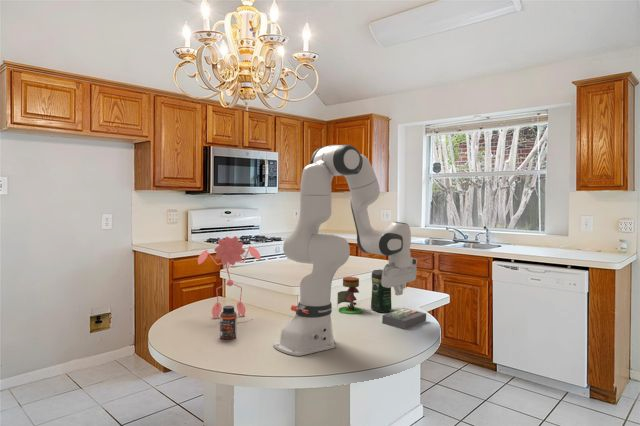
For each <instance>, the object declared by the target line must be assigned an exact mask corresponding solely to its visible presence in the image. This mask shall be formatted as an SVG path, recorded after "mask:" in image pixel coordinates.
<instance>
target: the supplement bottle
mask: <svg viewBox="0 0 640 426" xmlns="http://www.w3.org/2000/svg"><path fill="white" fill-rule="evenodd" d="M237 315H238V313H237V312H236V311H235V306H234V305H224V306H222V312H220V314H219V316H220V317H219V319H220V321H219V323H220V324H219V337H220V338H221V339H223V340H232V339H235V338H236V337H237V324H238V322H237V321H238V320H237V319H238V318H237V317H238V316H237Z"/></svg>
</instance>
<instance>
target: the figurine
mask: <svg viewBox="0 0 640 426" xmlns="http://www.w3.org/2000/svg"><path fill="white" fill-rule="evenodd" d="M217 244H218V246H216V247H214V252H215V256H214V257H215V259H216V260H220V261H221V262H219V263H217V261H216V260H215V259H214V258H213V256H212V255H211V254H210V253H209V251H208V249H205V250H204V251H202V252H201V253H200V254H199V255H198V257H197V265H199V266H200V265H201V264H203V263H204V262H205V261H206V260H207V258H208V256H209V257H210V258H211V261H213V262H214V264H215V265H217V266H220V265H222V266H226V265H227V264H228V265H227V267H226V272H227V275H228V278H229V279H228V280H227V281H226V284H223V285H221V286H219V287H217V288H216V289H215V290H216V300H217V301H216V303H215V304H214V305H213V307H212V309H211V315H212V317H213V319H216V318H217V317H218V316H220V314H221V313H222V312H221V311H222V310H223V306H222V303H221V302H219V298H218V297H219V294H218V289H221V288H223V287H225V286H228V287H231V286H233V285H234V286H236V287H237V288H240V294H239V295H240V296H239V297H240V298H239V301H237V302H236V309H237V311H238V313H237V315H241V316H243V317H245V315H246V307H245V305H244V303H243V302H242V293H243V292H242V291H243V288H242V286H240V285H237V284H235V283H234V281H233V280H232V279H231V276H230V272H229V267H230V265H231V266H235V264H236V263H240V264H241V263H244V262H246V261H245V260H246V258H247V256H248V254H249V253H250V255H251V256H252V257H253V258H255V259H257V260H259V261H261V253H260V252H259V250H257V248H255V247H253V246H251V245H249V246H248V248H247V252H246V249H244V248H243V245H244V242H243V241H239V238H238V236H235V235H234V236H233V237H232V238H231V237H229V236H225V237H224V239H223V238H220V239H218V240H217ZM244 253H246V254H245V256H244V259H243V257H242V255H243V254H244ZM252 320H253V318H252V319H250V320H246V321H244V323H247V322H250V321H252ZM240 323H243V321H242V322H240ZM218 324H219V325H220V322H218Z"/></svg>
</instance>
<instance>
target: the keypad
mask: <svg viewBox="0 0 640 426" xmlns="http://www.w3.org/2000/svg"><path fill="white" fill-rule="evenodd" d="M402 309H406V310H410V309H409V308H404V307H403V308H401V309H397V310H395V311H390V312H387V313H385V314H382V318H381V319H382V321H381V323H382V324H384V325H387V326H391V327H395V328H398V329H402V330H408V329H410V328H412V327H415V326H417V325H420V323H421V324H423V323H426V322H427V313H425V312H422V311H417V310H416V311H417V313H416V314H411V315H410V316H404V318H401V319H398V318H394V317H392V312H396V311H398V312H399V310H402ZM412 310H413V309H412ZM413 311H415V310H413ZM425 321H426V322H425Z"/></svg>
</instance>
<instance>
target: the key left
mask: <svg viewBox="0 0 640 426" xmlns="http://www.w3.org/2000/svg"><path fill="white" fill-rule="evenodd" d="M395 311H396V312H394V311H391V312H392V317H394V318H398V319H401V318H404V313H402V312H398V311H397V310H395Z"/></svg>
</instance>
